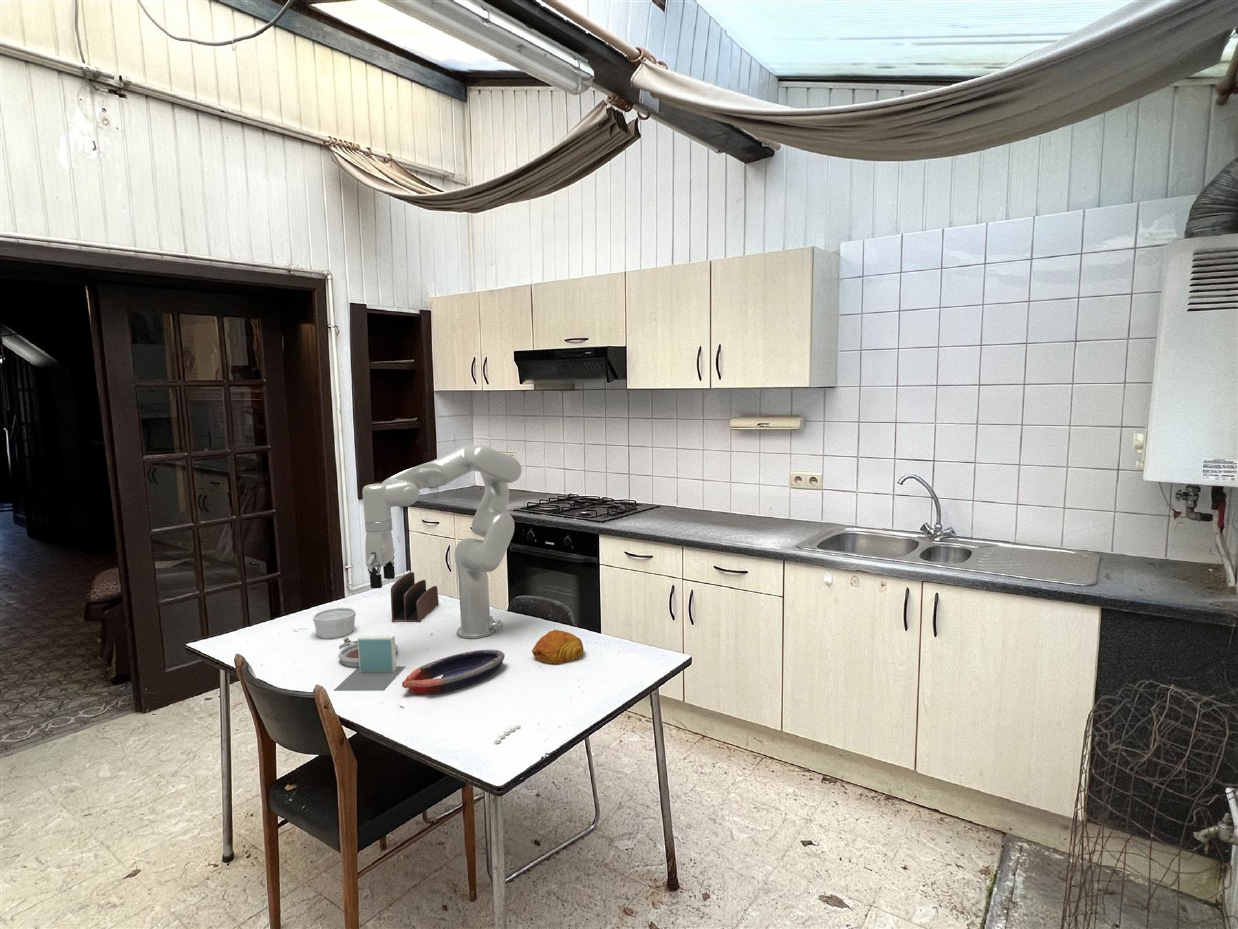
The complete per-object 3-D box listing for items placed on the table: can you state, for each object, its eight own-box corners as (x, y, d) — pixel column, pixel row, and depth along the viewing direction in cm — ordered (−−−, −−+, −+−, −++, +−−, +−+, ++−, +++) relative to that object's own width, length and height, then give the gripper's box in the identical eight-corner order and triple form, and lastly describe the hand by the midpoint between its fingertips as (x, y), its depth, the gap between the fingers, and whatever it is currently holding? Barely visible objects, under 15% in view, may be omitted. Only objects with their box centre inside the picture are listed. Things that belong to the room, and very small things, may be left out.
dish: (517, 672, 192) (516, 656, 191) (414, 707, 172) (413, 688, 171) (490, 657, 203) (489, 641, 203) (390, 688, 184) (389, 670, 183)
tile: (396, 669, 195) (394, 635, 194) (393, 672, 192) (391, 638, 191) (362, 669, 195) (360, 635, 194) (359, 672, 193) (356, 638, 192)
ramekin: (365, 630, 229) (363, 610, 228) (330, 643, 218) (328, 622, 217) (340, 624, 236) (339, 605, 236) (306, 636, 225) (304, 616, 225)
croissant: (560, 649, 213) (557, 624, 213) (592, 655, 202) (589, 629, 202) (523, 662, 203) (520, 635, 203) (555, 669, 192) (552, 641, 192)
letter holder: (391, 623, 236) (389, 584, 235) (413, 605, 256) (411, 569, 254) (419, 623, 235) (416, 584, 234) (439, 605, 255) (437, 569, 253)
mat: (406, 667, 197) (405, 666, 196) (384, 692, 181) (384, 690, 181) (359, 668, 197) (359, 666, 197) (333, 692, 181) (333, 690, 181)
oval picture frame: (371, 628, 224) (407, 648, 203) (371, 637, 224) (407, 657, 204) (317, 641, 213) (350, 662, 192) (318, 650, 213) (350, 672, 192)
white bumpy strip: (519, 721, 163) (519, 715, 163) (533, 728, 161) (534, 722, 161) (476, 750, 150) (477, 743, 150) (491, 758, 148) (492, 751, 148)
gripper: (378, 520, 206) (382, 575, 208) (353, 532, 189) (357, 592, 191) (402, 520, 206) (406, 574, 208) (379, 532, 188) (383, 592, 190)
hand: (383, 583), depth 199 cm, fingers open, 9 cm apart
